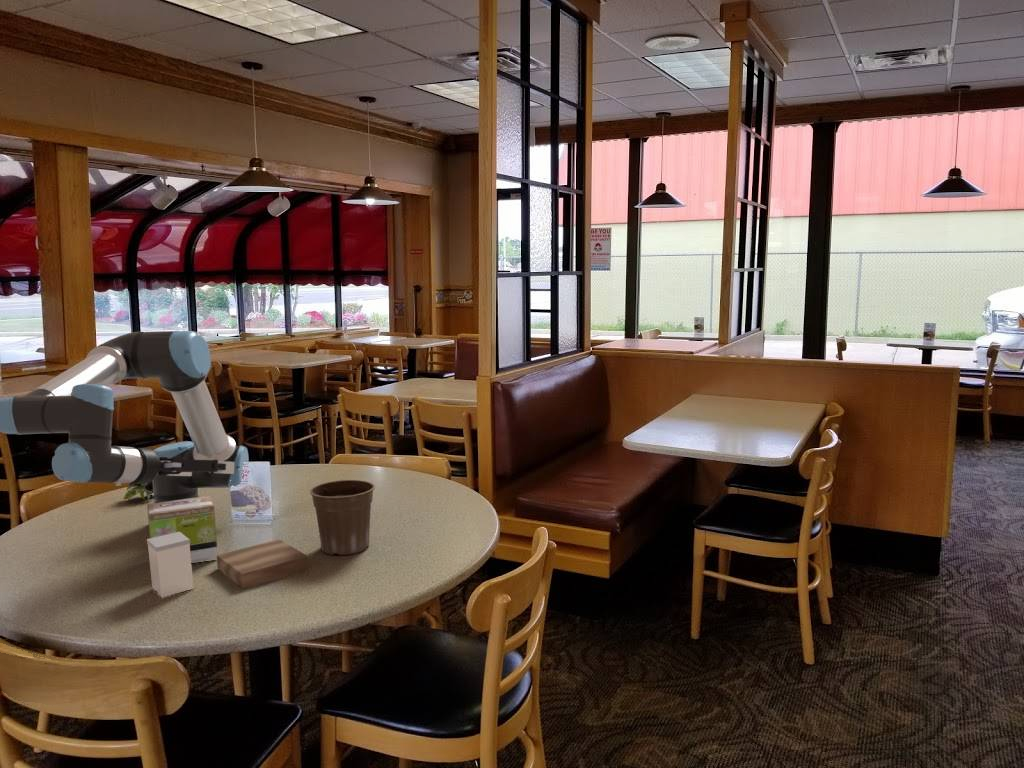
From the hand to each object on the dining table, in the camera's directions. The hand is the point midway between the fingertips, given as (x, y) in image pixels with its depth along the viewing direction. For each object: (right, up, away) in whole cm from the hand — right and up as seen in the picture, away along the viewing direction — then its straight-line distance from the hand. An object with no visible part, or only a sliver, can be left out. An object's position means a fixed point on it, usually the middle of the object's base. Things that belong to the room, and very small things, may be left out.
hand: (211, 469), depth 180 cm
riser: (+10, -26, +6) cm, 28 cm away
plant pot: (+27, -23, +20) cm, 41 cm away
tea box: (-12, -25, +14) cm, 31 cm away
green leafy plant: (-47, -17, +67) cm, 83 cm away
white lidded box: (-7, -27, -4) cm, 28 cm away
